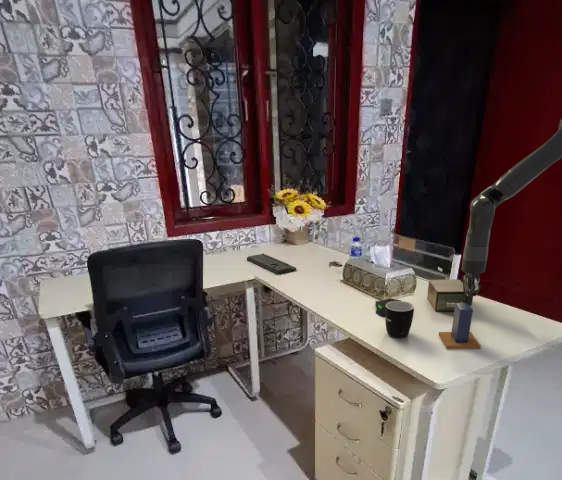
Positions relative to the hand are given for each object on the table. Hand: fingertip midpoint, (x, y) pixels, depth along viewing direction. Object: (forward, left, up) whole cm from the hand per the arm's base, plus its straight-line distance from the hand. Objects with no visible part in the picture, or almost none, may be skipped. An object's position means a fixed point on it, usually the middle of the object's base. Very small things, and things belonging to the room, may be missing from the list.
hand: (467, 305), depth 148 cm
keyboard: (+81, -69, -4) cm, 106 cm away
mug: (+27, +18, -4) cm, 32 cm away
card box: (+9, +22, -3) cm, 23 cm away
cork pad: (+9, +22, -4) cm, 23 cm away
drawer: (+5, -7, -3) cm, 8 cm away
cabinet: (+5, -10, -4) cm, 12 cm away
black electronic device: (+27, -4, -4) cm, 27 cm away
